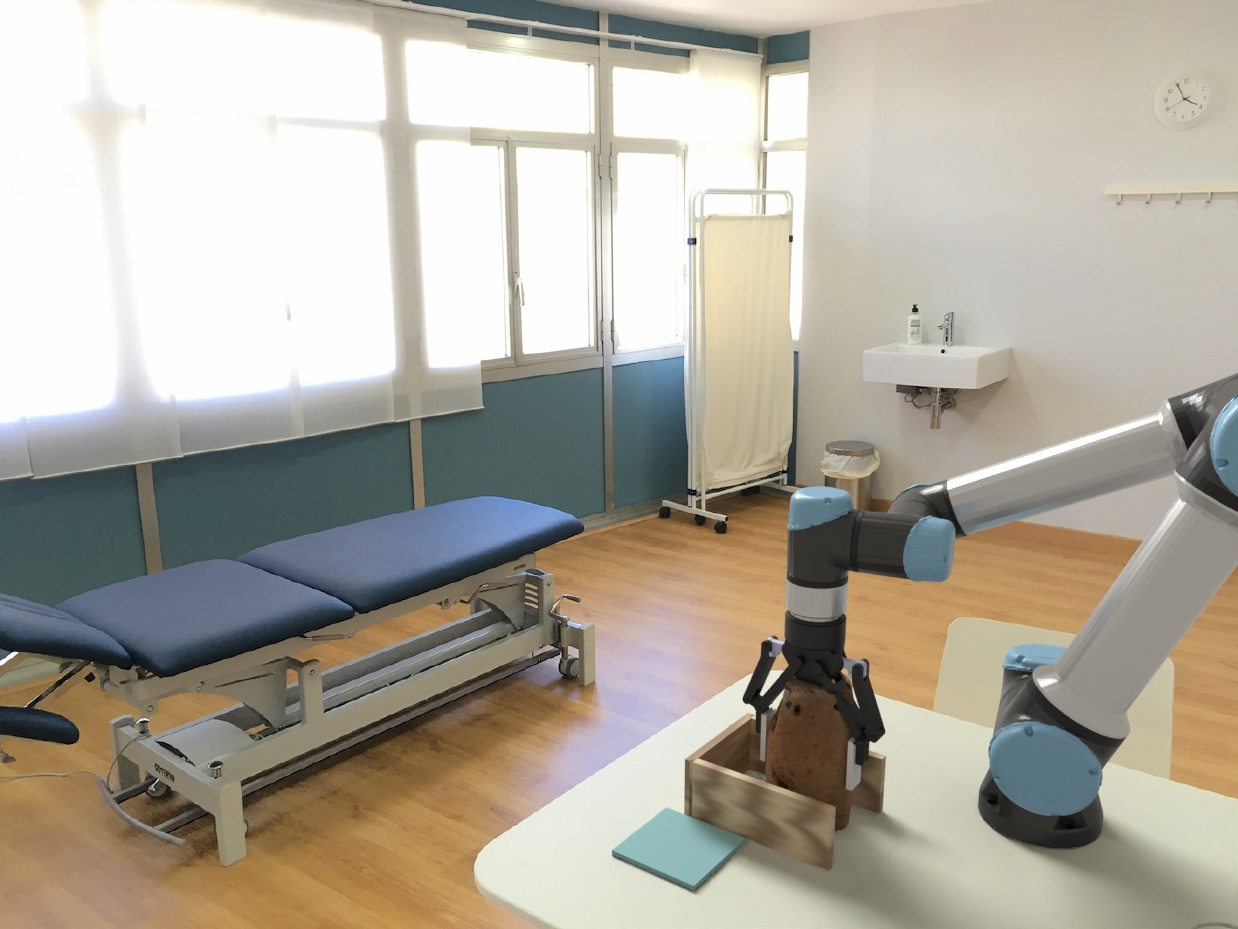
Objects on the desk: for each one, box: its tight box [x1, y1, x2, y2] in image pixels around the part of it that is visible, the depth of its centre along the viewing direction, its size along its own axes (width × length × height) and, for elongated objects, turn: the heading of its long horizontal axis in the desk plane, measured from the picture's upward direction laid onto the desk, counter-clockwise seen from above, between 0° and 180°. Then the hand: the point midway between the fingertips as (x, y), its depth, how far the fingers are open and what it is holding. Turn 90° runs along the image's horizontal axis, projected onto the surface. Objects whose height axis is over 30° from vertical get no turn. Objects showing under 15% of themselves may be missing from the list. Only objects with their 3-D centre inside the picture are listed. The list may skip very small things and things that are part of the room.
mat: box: [611, 807, 746, 891], centre depth 129 cm, size 12×12×1 cm
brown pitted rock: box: [764, 672, 855, 833], centre depth 133 cm, size 11×8×20 cm
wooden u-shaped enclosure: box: [683, 712, 887, 872], centre depth 136 cm, size 21×16×8 cm
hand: (809, 770), depth 133 cm, fingers closed on brown pitted rock, 11 cm apart
